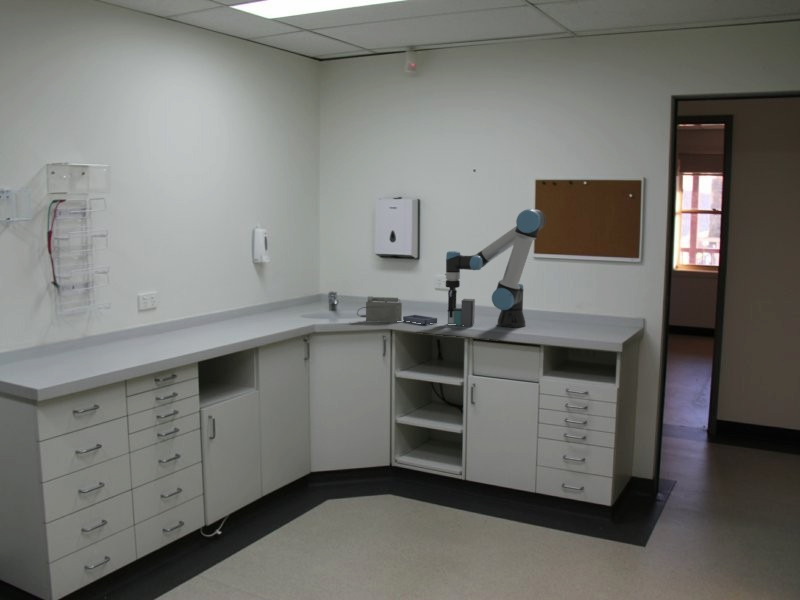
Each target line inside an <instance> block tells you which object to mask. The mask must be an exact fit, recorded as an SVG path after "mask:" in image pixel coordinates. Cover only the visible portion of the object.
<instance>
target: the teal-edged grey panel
mask: <svg viewBox="0 0 800 600" xmlns="http://www.w3.org/2000/svg"><path fill="white" fill-rule="evenodd" d="M461 308H462V307H456V308H454V323H449V311H447V325H448V324H456V325H461Z"/></svg>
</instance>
